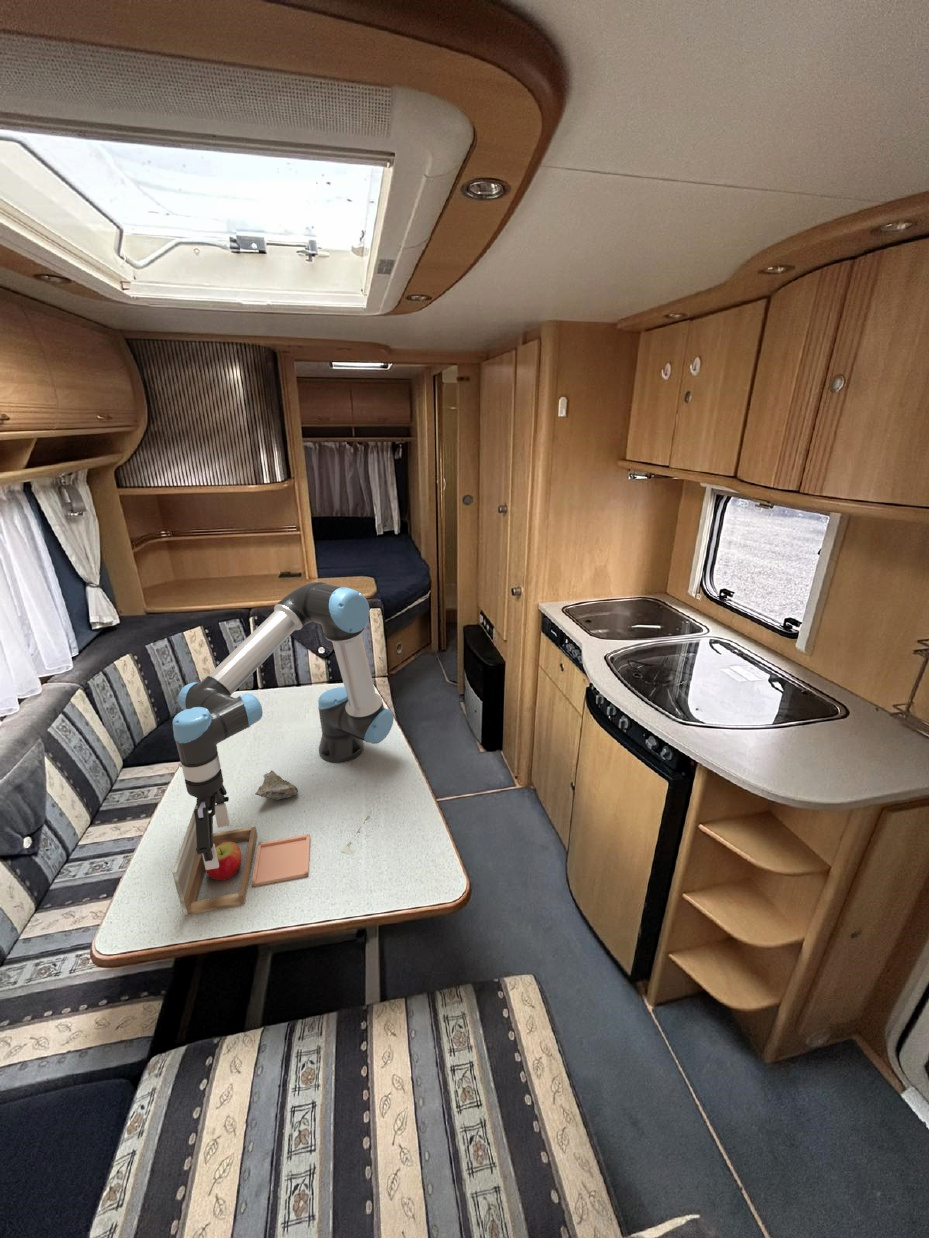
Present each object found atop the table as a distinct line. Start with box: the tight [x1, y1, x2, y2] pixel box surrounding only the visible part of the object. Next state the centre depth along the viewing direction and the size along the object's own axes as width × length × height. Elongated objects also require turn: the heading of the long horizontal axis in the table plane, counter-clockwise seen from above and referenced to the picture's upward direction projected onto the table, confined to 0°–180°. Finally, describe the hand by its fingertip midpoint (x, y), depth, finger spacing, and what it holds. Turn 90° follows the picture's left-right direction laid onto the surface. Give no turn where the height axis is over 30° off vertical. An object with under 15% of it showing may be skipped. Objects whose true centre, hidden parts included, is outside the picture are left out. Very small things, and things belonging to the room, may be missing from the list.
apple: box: [204, 841, 242, 881], centre depth 124 cm, size 8×8×10 cm
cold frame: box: [171, 802, 258, 916], centre depth 124 cm, size 13×23×14 cm, turn 14°
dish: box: [251, 833, 311, 888], centre depth 129 cm, size 13×13×2 cm
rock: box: [255, 769, 299, 801], centre depth 150 cm, size 11×6×10 cm
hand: (218, 845), depth 122 cm, fingers open, 13 cm apart
